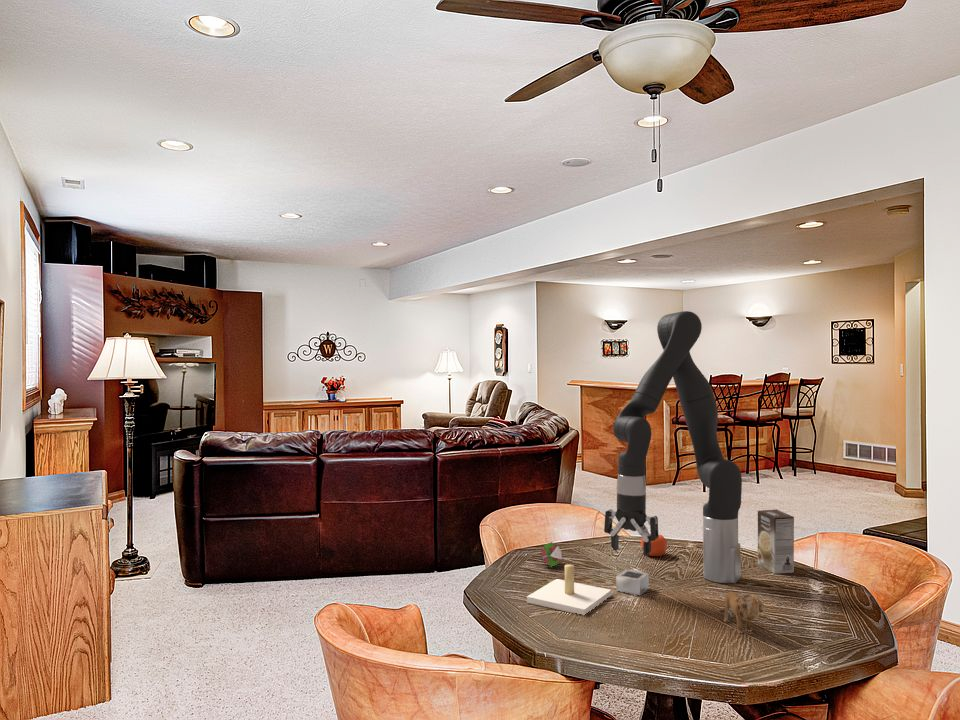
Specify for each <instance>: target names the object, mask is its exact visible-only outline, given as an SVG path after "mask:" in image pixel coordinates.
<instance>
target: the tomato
mask: <svg viewBox="0 0 960 720" xmlns="http://www.w3.org/2000/svg"><path fill="white" fill-rule="evenodd" d="M649 534H650V535H651V533H649ZM658 535H659V537H658V539H656V540H654V541H651V553H650V554H649V555H648V556H650V557H661V556H662V555H664V554H665V553H666V552H667V550H668V540H667V539H666V538H665V537H664V536H663V535H662V534H658ZM640 546H641V549H642V551H644V539H643V538H642V537H641V539H640Z"/></svg>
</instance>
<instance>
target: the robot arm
mask: <svg viewBox="0 0 960 720" xmlns="http://www.w3.org/2000/svg"><path fill="white" fill-rule="evenodd" d="M702 325H703V324H702V321H701V318H700V316H698V315H697V313H695V312H693V311H689V310H688V311H687V310H686V311H685V310H684V311H678V312H673V313H669V314H665V315H663V316H661V318H660V319H659V320H658V323H657V326H656V327H657V328H656V331H657V337H658V340H659V343H660V345H661V347H662V350H663V351H662V353H660V355H659V356H658V358H657V359H656V360H655V361H654V362H653V364H652V365H651V366H650V367H649V368H648V370H647V371H646V372H645V373H644V374H643V376H642V378H641V380H640V381H639V383H638V385H637V387H636V389H635V392H634V394H633V396H632V398H631V399H630V400H629V401H628V402H627V403H626V405H624V407H623V409H622V410H621V411H620V412H619V413H618V415H617V417H616V418H615V420H614V423H613V426H612V427H613V430H612V431H613V434H614V437H615V439H617V440H619V441H621V442H623V443H624V442H625V443H628V444H627V448H626V451H623V452H620V453H619V455H618V460H617V479H616V511H615V510H613V509H612V508H611V509H608V510H606V511H605V512H604V513H605V514H604V515H605V516H604V525H603V526H604V529H603V531H604V533H605V534H608V535H610V546H611V549H612V550H613V551H618V550H619V547H620V546H619V545H620V544H619V542H620V540H619V537H620V536H619V535H618V534H619V533H620V532H621V530H622V529H623V530H625V531H628V530H629V531H631V532H637V533H638V535H640V536H641V539H642V538H643V539H644V551H643V550H642V551H643V553H642V554H643V556H644V557H648V556H650V555H649V554H650V553H651V541H654V540H656V539H658V537H659V535H660V534H659V517H658V516H657V515H654V516H648V515H647V514H646V511H647V509H646V508H647V507H646V505H647V503H646V502H647V481H646V458H647V456H648V453H649V448H650V443H651V440H652V428H651V427H652V426H651V424H650V423H649V421H648V420H647V419H646V418H644V417H646V416H648V415H651V414H654V413H655V412H656V410H657V409H658V407H659V406H660V405H659V404H660V403H661V401H662V399H663V396H664V395H665V393H666V390H667V388H668V386H669V384H670V382H671V381H672V379H673V383H674V384H675V388H676V391H677V392H676V393H677V395H678V400H679V403H680V404H679V405H680V407H681V410H682V414H683V416H684V420H685V423H686V426H687V427H686V428H687V430H688V433H689V437H690V440H691V443H692V448H693V452H694V457H695V458H694V459H695V464H696V471H697V475H698V478H699V481H700V482H701V483H702V485H703V486H704V487H706V488H707V489H708V500H707V502H706V503H704V504H703V506H702V553H703V554H702V555H703V556H702V559H703V561H702V564H703V565H702V566H703V567H702V570H703V575H702V576H703V577H704V579H705V580H708V581H711V582H714V583H722V584H723V583H724V584H736V583H737V582H738V581H739V580H740V579H741V577H742V575H741V569H742V568H741V543H740V542H739V511H740V508H741V506H742V505H741V504H742V494H743V493H742V490H743V489H742V487H743V482H742V481H743V477H742V473H741V469H740V467H739V466H738V465H737V463H735V462H734V461H731V460H729V459H726V458H724V455H723V452H722V450H721V447H720V444H719V440H718V430H717V429H718V420H719V419H718V418H719V411H718V405H717V401H716V398H715V394H714V391H713V387H712V386H711V384H710V382H709V380H708V379H707V378H706V376H705V375H704V374H703V373H702V371H701V370H700V369H699V367H698V366H697V365H696V363H695V361H694V360H693V358H692V354H691V349H692V348H693V346H694V345H695V344H696V342H697V341H698V339H699V338H700V336H701V333H702V328H703V327H702ZM614 518H616V520H617V524H616V525H615V526H614V527H613V519H614ZM646 522H647V524H648V525H649V526H650V528H649V529H650V532H649V529H648V527H647V526H646ZM650 534H651V535H650Z"/></svg>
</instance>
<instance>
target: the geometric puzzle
mask: <svg viewBox="0 0 960 720" xmlns="http://www.w3.org/2000/svg"><path fill="white" fill-rule="evenodd" d="M542 547H543V548H541V549H540V553H541V555H542V557H541V558H540V557H539V558H538V560H541V561H542V559H543V563H544V564H545V565H546V563H547V564H548V565H549V568H550V567H551V568H553V567H552V566H554V567H556V566H558V565H557V564H559V565H560V563H561V561H563V555H564V552H563V550H562V549H561V547H560V546H559V545H558V544H556V543H554V542H553V541H550V542H548V543H546V544H543V546H542ZM555 565H556V566H555Z"/></svg>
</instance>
